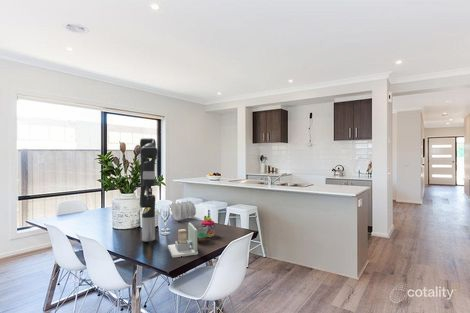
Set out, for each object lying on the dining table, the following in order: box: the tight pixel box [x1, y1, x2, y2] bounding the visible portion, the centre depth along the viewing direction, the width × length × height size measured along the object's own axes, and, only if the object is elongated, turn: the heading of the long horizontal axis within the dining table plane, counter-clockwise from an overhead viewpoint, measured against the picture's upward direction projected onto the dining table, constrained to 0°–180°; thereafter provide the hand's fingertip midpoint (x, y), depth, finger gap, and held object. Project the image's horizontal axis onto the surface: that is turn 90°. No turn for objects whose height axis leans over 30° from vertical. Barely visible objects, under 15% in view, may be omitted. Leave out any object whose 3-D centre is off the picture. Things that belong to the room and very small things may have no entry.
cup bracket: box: [167, 222, 199, 258], centre depth 179 cm, size 20×16×16 cm
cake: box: [200, 215, 216, 238], centre depth 212 cm, size 10×10×15 cm
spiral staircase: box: [168, 200, 197, 222], centre depth 266 cm, size 18×18×25 cm
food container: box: [196, 226, 208, 243], centre depth 198 cm, size 12×6×10 cm, turn 126°
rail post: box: [177, 228, 188, 244], centre depth 179 cm, size 4×4×12 cm
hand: (148, 203), depth 173 cm, fingers open, 8 cm apart
